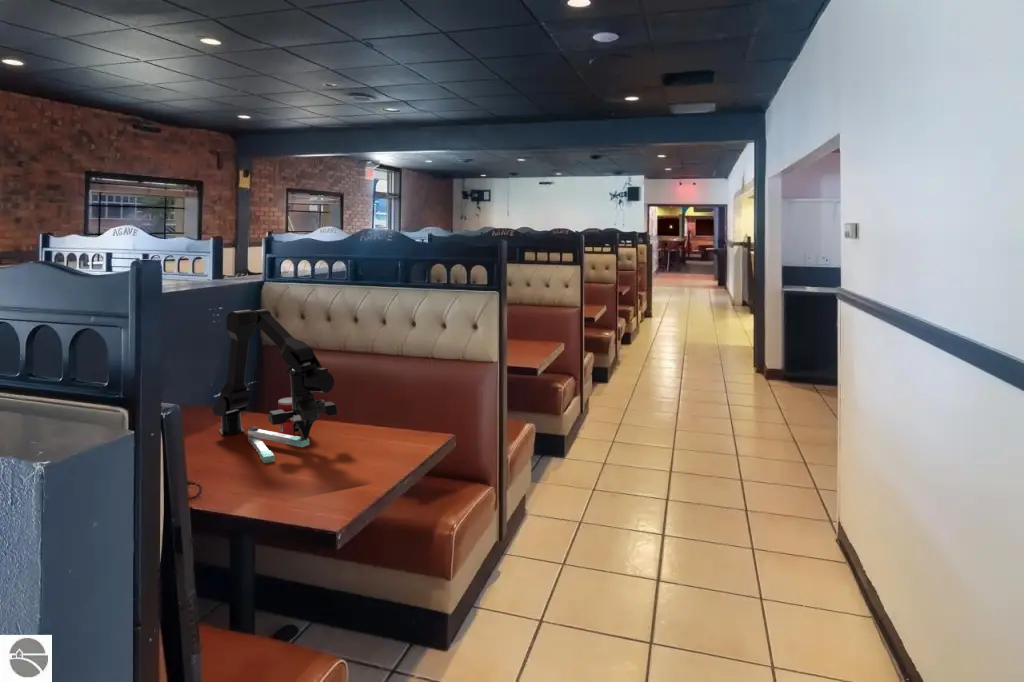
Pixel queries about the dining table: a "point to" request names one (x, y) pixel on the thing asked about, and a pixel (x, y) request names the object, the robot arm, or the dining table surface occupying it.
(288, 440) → the tong arm
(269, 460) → the tongs lower
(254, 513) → the dining table surface
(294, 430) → the canned food
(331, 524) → the dining table surface
